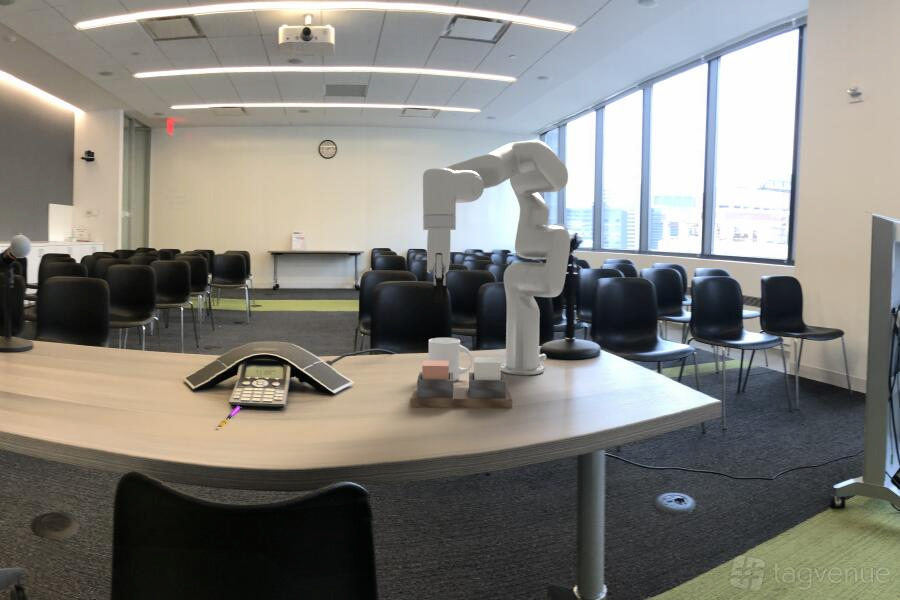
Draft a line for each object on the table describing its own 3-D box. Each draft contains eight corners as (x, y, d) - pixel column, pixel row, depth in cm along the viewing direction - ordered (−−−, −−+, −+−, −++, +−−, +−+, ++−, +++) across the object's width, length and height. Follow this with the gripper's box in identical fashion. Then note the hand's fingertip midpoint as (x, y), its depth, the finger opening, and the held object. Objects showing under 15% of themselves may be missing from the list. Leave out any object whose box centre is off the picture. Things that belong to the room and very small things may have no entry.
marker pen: (238, 407, 130) (214, 431, 114) (239, 402, 129) (215, 425, 114) (250, 409, 130) (228, 434, 114) (251, 404, 130) (229, 428, 114)
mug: (470, 383, 151) (470, 343, 150) (425, 381, 153) (425, 342, 152) (473, 376, 160) (474, 338, 159) (431, 374, 161) (431, 337, 160)
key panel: (508, 395, 139) (508, 371, 139) (511, 407, 129) (512, 382, 129) (414, 395, 140) (414, 371, 139) (410, 406, 130) (410, 381, 129)
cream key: (498, 381, 137) (499, 357, 136) (500, 388, 131) (500, 362, 130) (473, 381, 137) (474, 357, 136) (474, 388, 131) (474, 362, 130)
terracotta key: (448, 385, 137) (448, 360, 137) (448, 391, 131) (448, 366, 131) (423, 384, 137) (423, 360, 137) (422, 391, 131) (422, 365, 131)
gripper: (425, 224, 139) (425, 299, 141) (421, 223, 124) (421, 306, 126) (455, 224, 139) (456, 298, 141) (455, 222, 124) (455, 306, 126)
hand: (439, 302), depth 133 cm, fingers closed
